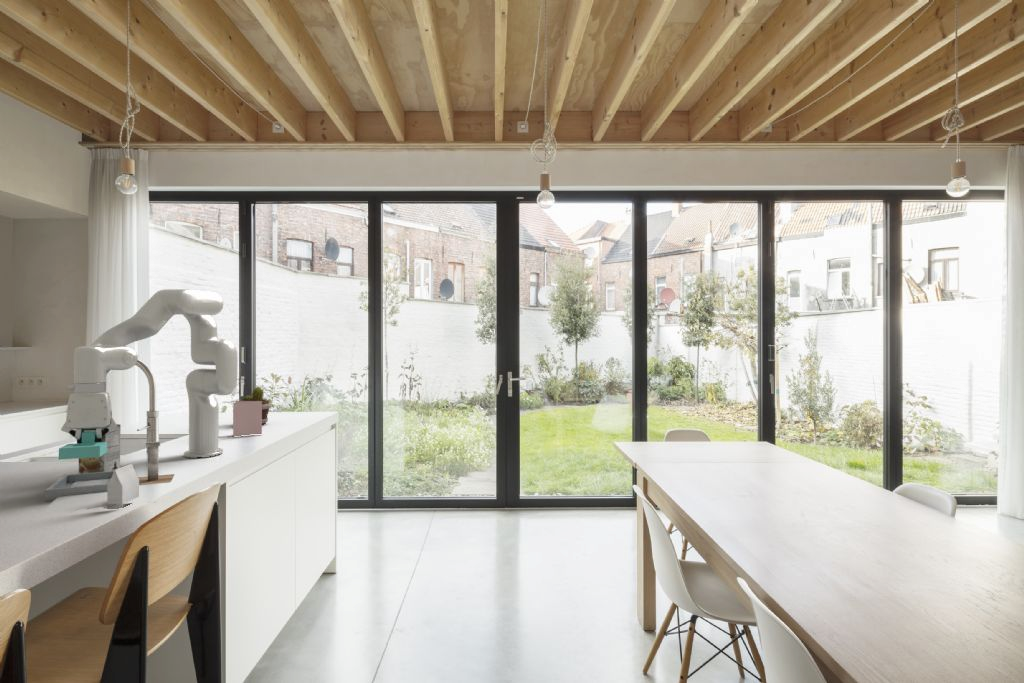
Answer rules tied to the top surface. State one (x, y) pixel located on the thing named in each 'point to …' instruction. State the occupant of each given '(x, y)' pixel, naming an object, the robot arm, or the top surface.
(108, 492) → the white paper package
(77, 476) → the tray
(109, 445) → the coffee box
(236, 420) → the greeting card
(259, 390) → the flowerpot
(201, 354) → the robot arm
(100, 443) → the collar
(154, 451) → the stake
